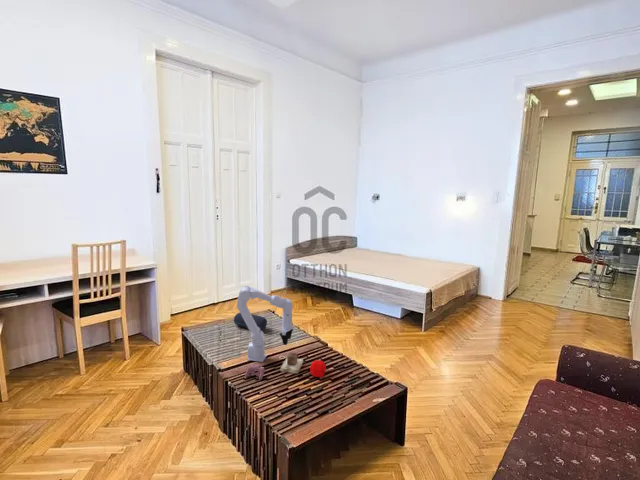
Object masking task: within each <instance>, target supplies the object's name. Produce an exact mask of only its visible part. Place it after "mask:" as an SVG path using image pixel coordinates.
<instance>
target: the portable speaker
mask: <svg viewBox="0 0 640 480" xmlns="http://www.w3.org/2000/svg"><path fill="white" fill-rule="evenodd" d="M251 315H252V317H253V319H254V321H255V323H256V325H257V327H259V328H260V330H261V331H263V332H264V331H265V329H266V327H267V325H268V320H267V318H265V317H264V316H261V315H256V314H252V313H251ZM233 322H234V325H236V326H238V327H242V328H246V329H248V327H247V325H246V323H245V321H244V319H243V317H242V315H241V313H240V312H238V313H236V314H235V316H234V317H233Z"/></svg>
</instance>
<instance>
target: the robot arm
mask: <svg viewBox="0 0 640 480" xmlns="http://www.w3.org/2000/svg"><path fill="white" fill-rule="evenodd" d="M256 298H257V299H261V300H263V301H267V302H269V303H270V305H272V306H274V307H277V308H280V309H282V319H281V320H282V321H281V323H282V324H281V325H282V326H281V332H280V333H279V336H280V337H281V341H282V344H283V345H284V346H287V345H288V341H289V340H291V338H292V333H293V330H294V329H295V326H293V308H294V307H293V306H294V305H293V302H292V300H291V299H290V298H285V297H281V296H279V295H278V294H275V295H270V294H267V293H265V292H263V291H260V290H258V289H257V288H254V287H250V286H249V285H245V286H243V287H242V288H241V289H240V290H239V294H238V296H237V303H236V307H237V310H238V312H239V313H241V315H242V317H243V319H244V321H245V323H246V325H247V327H248V328H247V329H248V330H249V332H250V336H251V339H252V342H249V343H248V347H247V359H248V360H247V361H252V362H253V361H254V362H261V363H262V362H264V361H265V359H266V358H267V356H268V355H267V354H266V353H265V351H266V350H265V347H266V346H265V341H264V338H265V333H264V331H261V330H260V328H259V327H257V325H256V323H255V321H254V319H253V317H252V315H253V314H252V313H251V311H250V309H249V308H248V306H247V303H248V301H249V300H254V299H256ZM251 314H252V315H251Z"/></svg>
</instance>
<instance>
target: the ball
mask: <svg viewBox="0 0 640 480" xmlns="http://www.w3.org/2000/svg"><path fill="white" fill-rule="evenodd" d="M309 368H310V369H309V373H310V375H312V376H313V377H314V378H315V377H316V378H323V376H324V375H326V371H327V364H326V363H325V362H324V361H323V360H317V359H315V360H314V361H312V362H311V364H310V366H309Z"/></svg>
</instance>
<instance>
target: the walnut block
mask: <svg viewBox="0 0 640 480" xmlns="http://www.w3.org/2000/svg"><path fill="white" fill-rule="evenodd" d="M286 358H287V365H294V366H295V365H296V363H297V359H298V353H295V352H289V353H288V355H287V356H286Z"/></svg>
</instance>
